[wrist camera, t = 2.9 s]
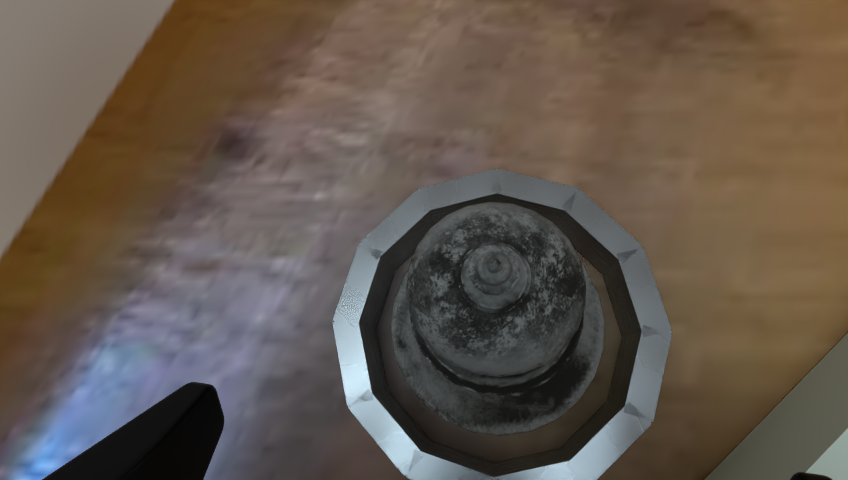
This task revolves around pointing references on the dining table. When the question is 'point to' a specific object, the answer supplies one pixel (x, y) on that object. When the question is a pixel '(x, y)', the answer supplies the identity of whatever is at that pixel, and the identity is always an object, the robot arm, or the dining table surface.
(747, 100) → the dining table surface
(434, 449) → the faceted metal ring
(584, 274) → the dark grey chess piece
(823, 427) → the bin
